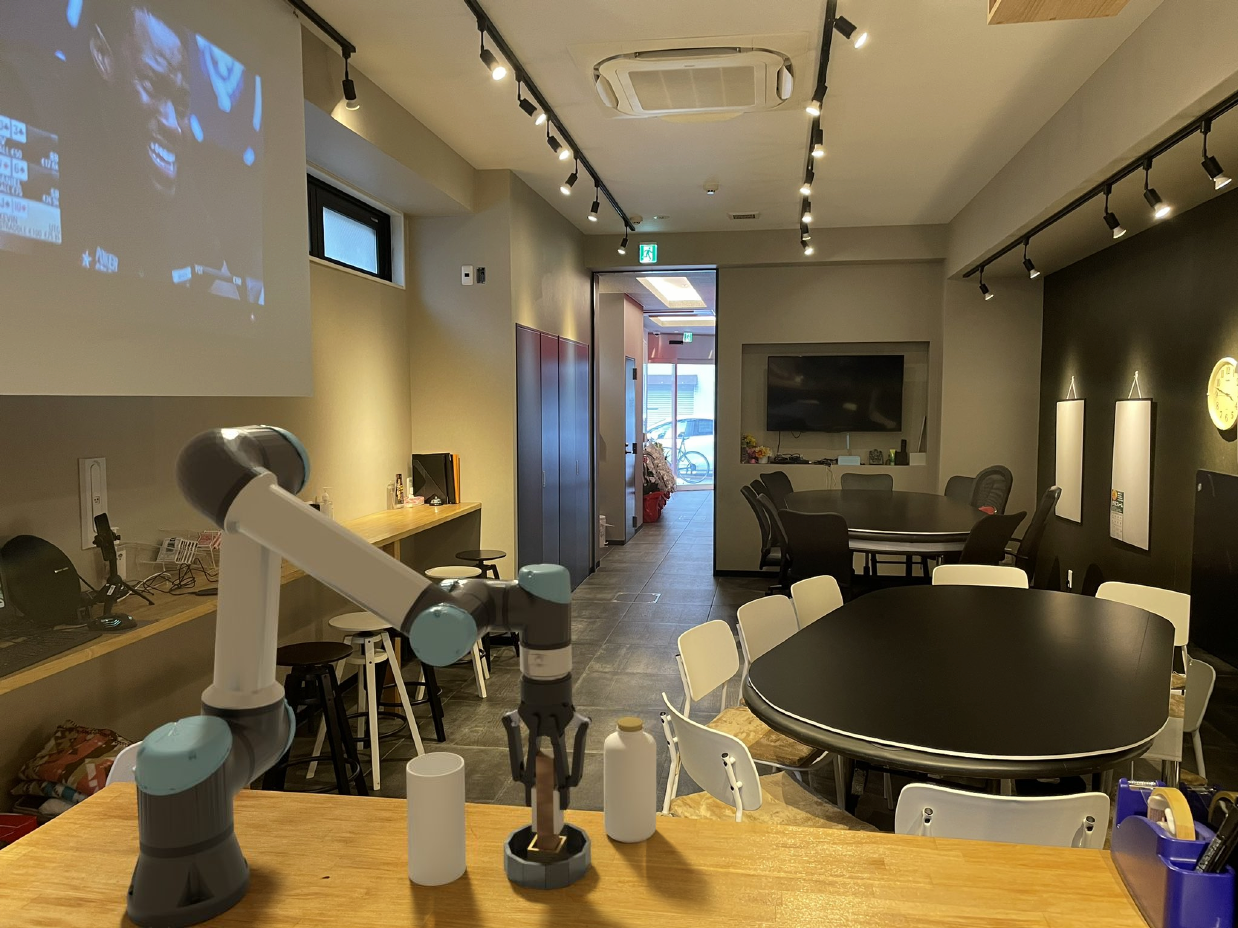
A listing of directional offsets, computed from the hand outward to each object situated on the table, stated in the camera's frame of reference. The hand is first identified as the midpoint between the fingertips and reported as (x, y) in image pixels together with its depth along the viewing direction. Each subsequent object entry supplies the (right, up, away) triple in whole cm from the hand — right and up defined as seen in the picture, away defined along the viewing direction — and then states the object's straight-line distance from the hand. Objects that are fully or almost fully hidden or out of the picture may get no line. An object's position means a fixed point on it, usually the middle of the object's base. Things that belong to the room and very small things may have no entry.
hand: (548, 827), depth 125 cm
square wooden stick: (0, -3, 0) cm, 3 cm away
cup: (-16, -6, -1) cm, 17 cm away
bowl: (0, -6, 0) cm, 6 cm away
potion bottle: (+12, -5, +10) cm, 17 cm away
